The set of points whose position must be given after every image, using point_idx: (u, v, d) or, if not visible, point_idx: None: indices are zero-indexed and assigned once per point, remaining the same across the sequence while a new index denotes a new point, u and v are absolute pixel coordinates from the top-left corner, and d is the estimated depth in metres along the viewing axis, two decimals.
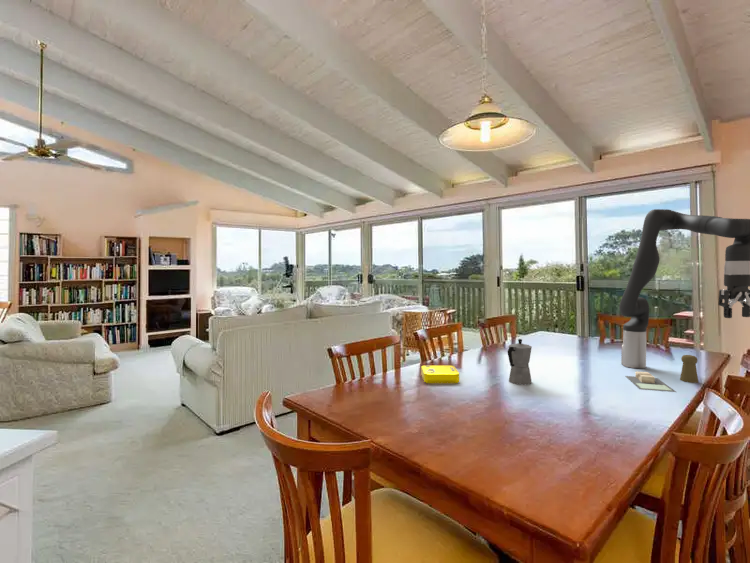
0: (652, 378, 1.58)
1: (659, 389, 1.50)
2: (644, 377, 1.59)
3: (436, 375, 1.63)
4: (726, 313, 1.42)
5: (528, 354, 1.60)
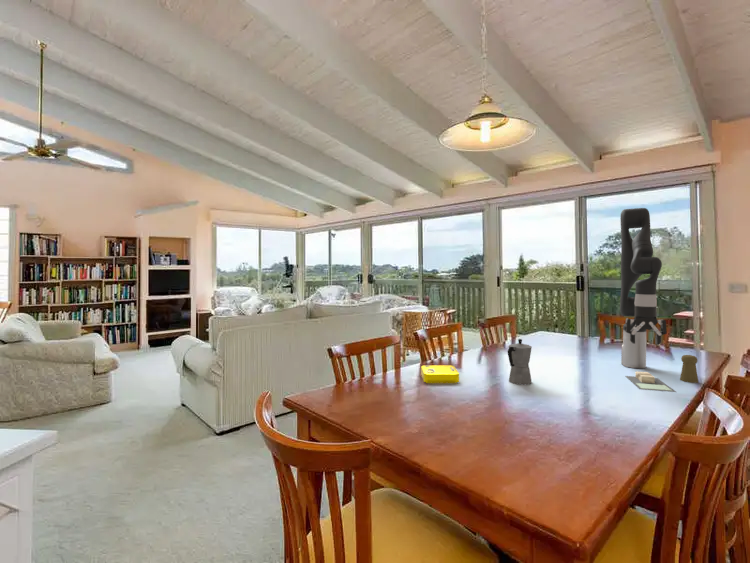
0: (652, 378, 1.58)
1: (659, 389, 1.50)
2: (644, 377, 1.59)
3: (436, 375, 1.63)
4: None
5: (528, 354, 1.60)
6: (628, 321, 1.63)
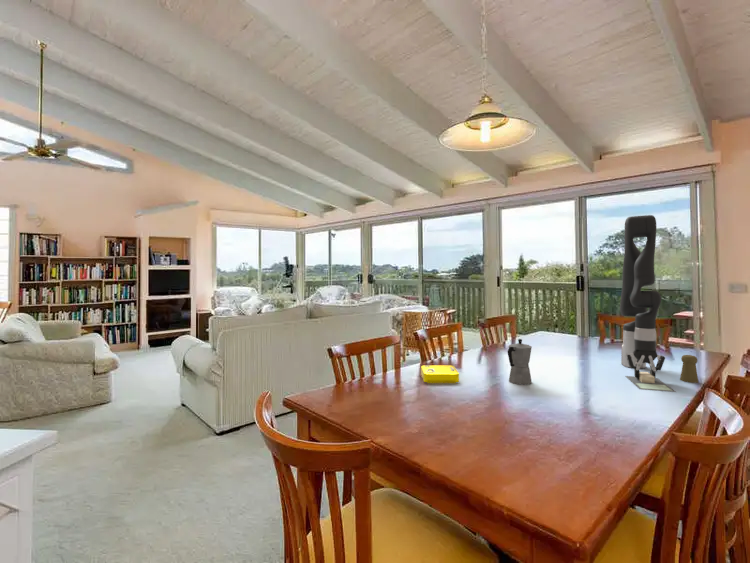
0: (652, 378, 1.58)
1: (659, 389, 1.50)
2: (644, 377, 1.59)
3: (436, 375, 1.63)
4: None
5: (528, 354, 1.60)
6: (628, 357, 1.63)
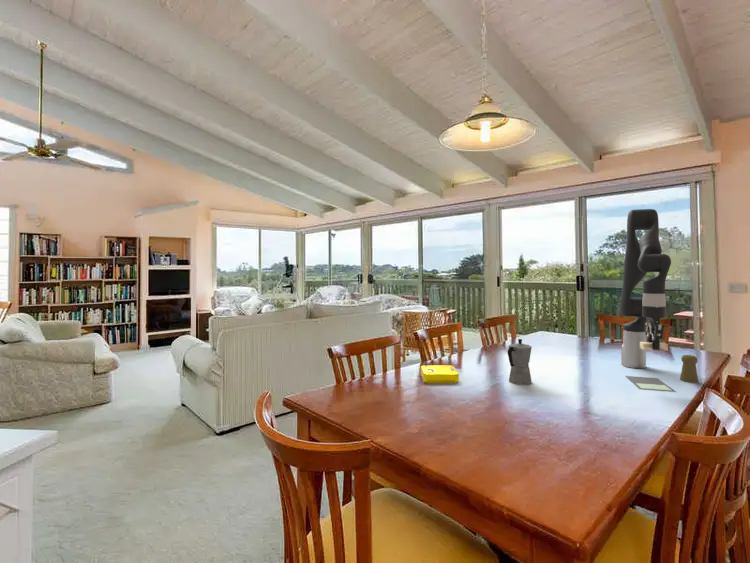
0: (642, 344, 1.53)
1: (659, 389, 1.50)
2: (640, 343, 1.55)
3: (436, 375, 1.63)
4: (657, 345, 1.49)
5: (528, 354, 1.60)
6: (644, 323, 1.59)
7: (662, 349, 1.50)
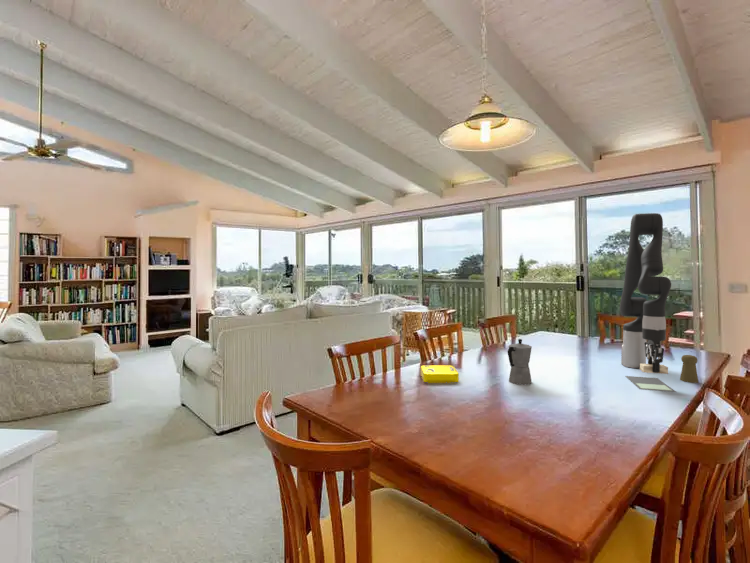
0: (643, 367, 1.53)
1: (659, 389, 1.50)
2: (640, 365, 1.55)
3: (435, 375, 1.63)
4: (657, 368, 1.50)
5: (528, 354, 1.60)
6: (644, 344, 1.59)
7: (662, 372, 1.50)
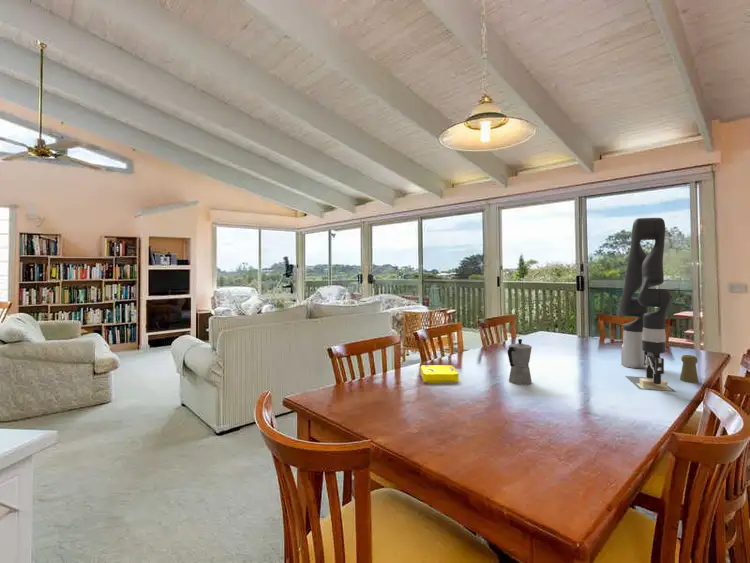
0: (642, 382, 1.53)
1: (659, 389, 1.50)
2: (640, 379, 1.56)
3: (435, 375, 1.63)
4: (658, 380, 1.48)
5: (528, 354, 1.60)
6: (644, 353, 1.59)
7: (662, 387, 1.51)
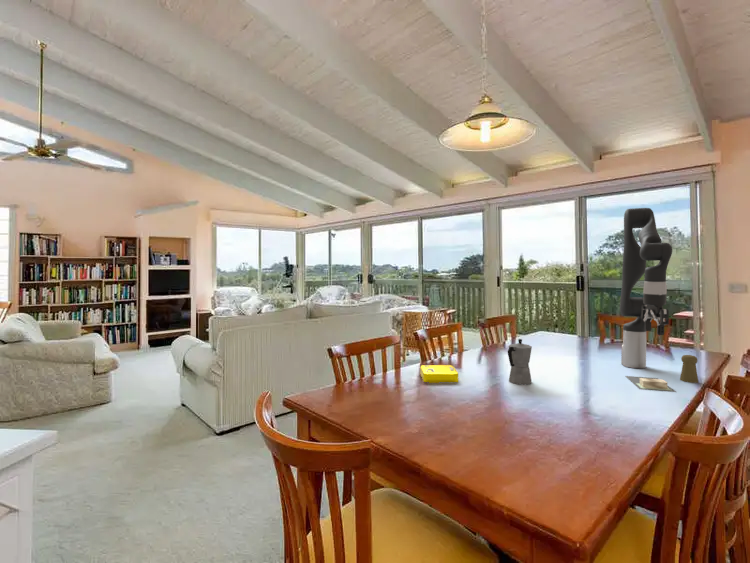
0: (642, 382, 1.53)
1: (659, 389, 1.50)
2: (640, 379, 1.56)
3: (435, 375, 1.63)
4: (662, 331, 1.52)
5: (528, 354, 1.60)
6: (642, 307, 1.63)
7: (662, 387, 1.51)
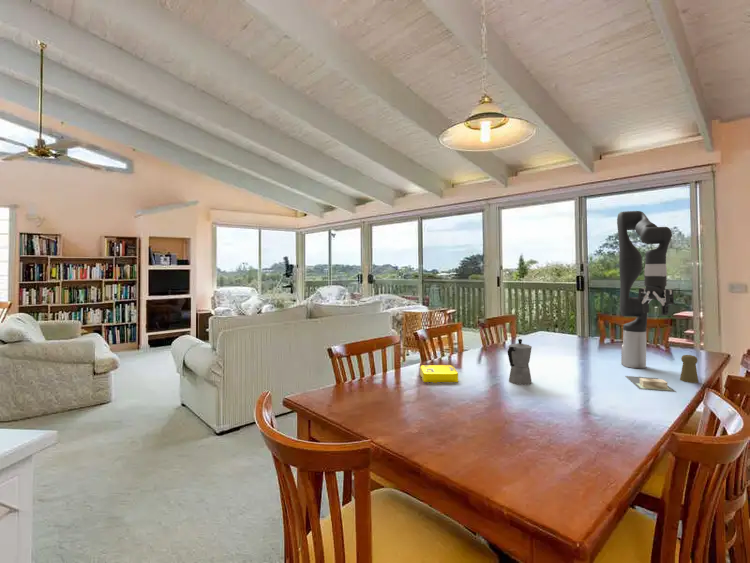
0: (642, 382, 1.53)
1: (659, 389, 1.50)
2: (640, 379, 1.56)
3: (435, 375, 1.63)
4: (667, 310, 1.57)
5: (528, 354, 1.60)
6: (639, 290, 1.68)
7: (662, 387, 1.51)
